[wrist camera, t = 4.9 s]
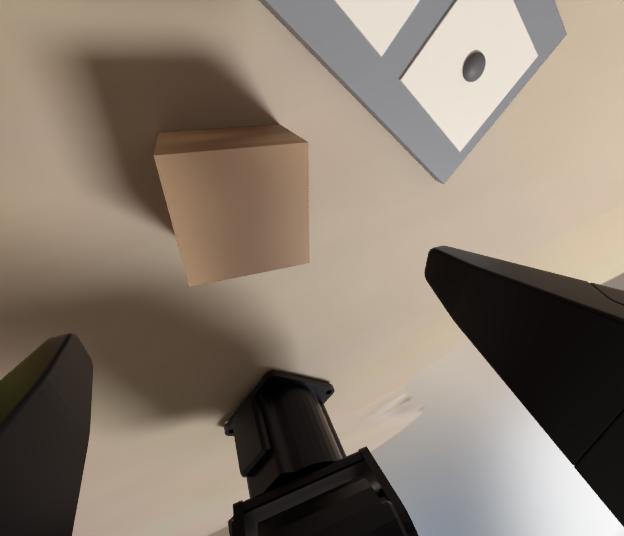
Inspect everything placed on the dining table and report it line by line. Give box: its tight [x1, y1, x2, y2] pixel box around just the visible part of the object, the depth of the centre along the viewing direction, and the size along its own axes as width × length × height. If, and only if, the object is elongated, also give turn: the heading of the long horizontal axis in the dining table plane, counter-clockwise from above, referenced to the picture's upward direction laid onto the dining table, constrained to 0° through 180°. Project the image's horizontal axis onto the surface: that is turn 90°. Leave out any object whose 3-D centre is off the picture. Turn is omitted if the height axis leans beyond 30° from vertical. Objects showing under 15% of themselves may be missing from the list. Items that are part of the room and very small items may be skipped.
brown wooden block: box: [154, 124, 309, 287], centre depth 13 cm, size 5×5×4 cm
